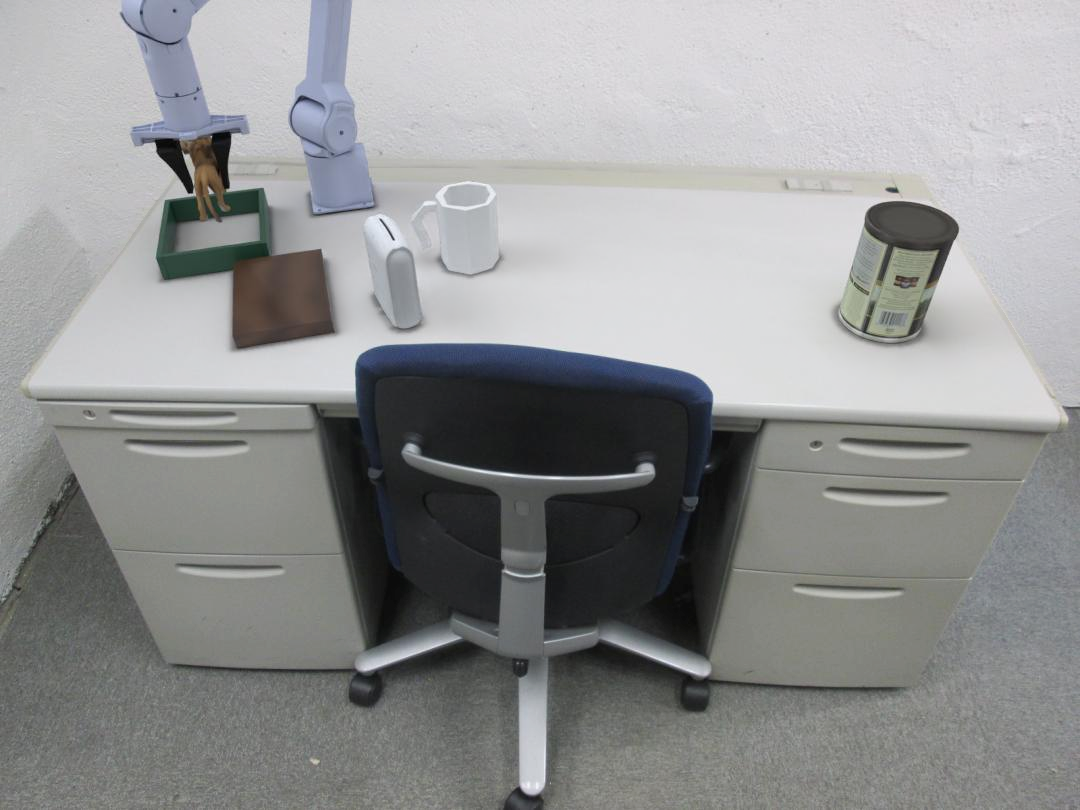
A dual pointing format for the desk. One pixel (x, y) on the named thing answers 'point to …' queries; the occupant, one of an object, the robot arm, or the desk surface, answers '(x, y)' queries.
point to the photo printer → (392, 271)
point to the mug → (463, 226)
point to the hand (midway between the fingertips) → (208, 188)
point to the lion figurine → (205, 174)
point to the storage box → (214, 256)
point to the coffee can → (896, 270)
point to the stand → (280, 298)
